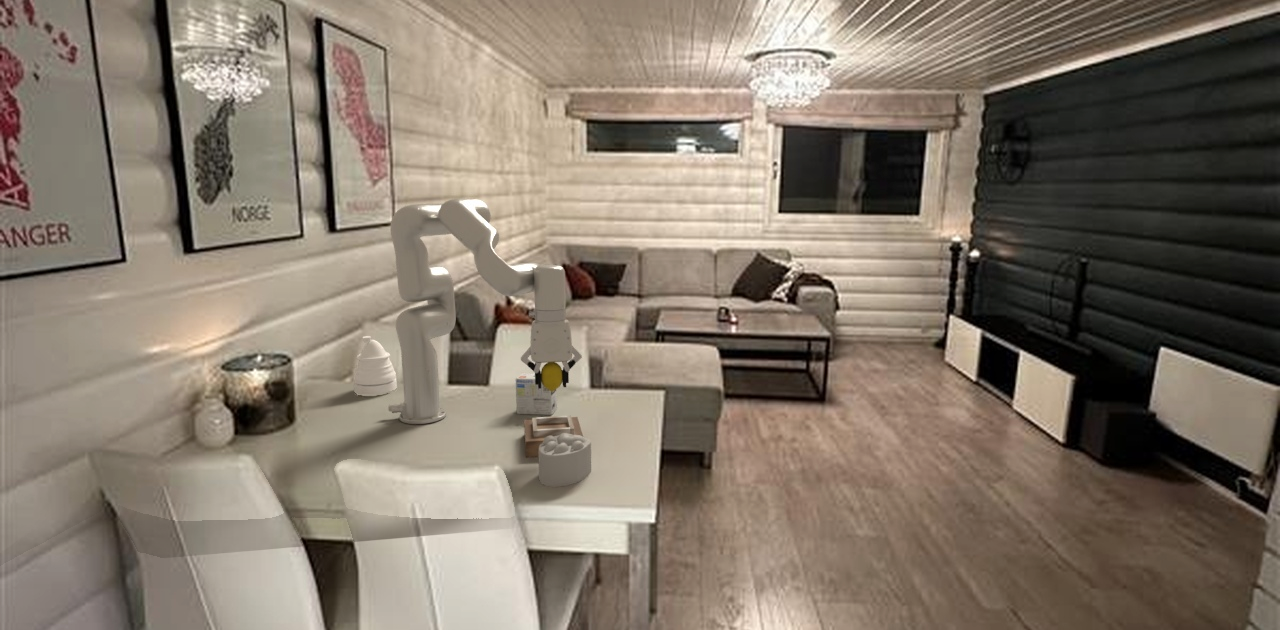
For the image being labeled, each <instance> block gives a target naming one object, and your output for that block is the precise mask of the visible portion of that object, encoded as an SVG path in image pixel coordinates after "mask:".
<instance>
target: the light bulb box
mask: <svg viewBox="0 0 1280 630" xmlns="http://www.w3.org/2000/svg"><path fill="white" fill-rule="evenodd" d="M515 397H516V414H517V415H542V416H543V415H544V416H546V415H547V416H552V415H553V414H554V413H555V411H556V410H557V409H558V403H557V402H558V400H557V399H558V398H557V397H558V396H557V389H555V390H554V391H553V392H551V391H550V390H549V389H547V388H545V387H544V386H543V384H542V382H541V389H538V385H535V372H534V373H526V372H525V373H524V372H521V373H520V374H519V375H518V376H517V377H516V378H515Z"/></svg>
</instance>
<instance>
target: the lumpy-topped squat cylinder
mask: <svg viewBox="0 0 1280 630" xmlns="http://www.w3.org/2000/svg"><path fill="white" fill-rule="evenodd" d="M538 452H539V456H538V480H540V481H539V483H541V484H542V485H543V484H544V485H543V486H546V487H551V486H554V488H555V487H556V486H558V487H564V486H565V485H566V486H570V485H573V483H574V484H576V483H577V484H578V483H579V482H581V481H582V480H584V479H585V478H587V477H588V476H589V475H590V474H591V473H592V440H591V439H590V438H587V437H584V436H583V437H582V436H580V435H572V434H568V433H562V434H561V435H557V436H554V437H553V436H551V435H550V436H547V437H545V438H544V440H543V443H542V444H540V446H539V451H538ZM569 484H570V485H569ZM566 486H565V487H566Z"/></svg>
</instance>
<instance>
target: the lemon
mask: <svg viewBox="0 0 1280 630" xmlns="http://www.w3.org/2000/svg"><path fill="white" fill-rule="evenodd" d="M562 370H563V368H562V366H561V365H560V364H559V363H558V362H547V363H544V365H543V366H542V367H541V370H540V371H541V382H542V384H543V386H544V387H545V388H547V389H549V390H550V391H551V392H553V391H554V390H555V389H556V390H557V389H558V388H560V387H561V385H563V383H562V381H563V373H562Z"/></svg>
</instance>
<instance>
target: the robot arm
mask: <svg viewBox="0 0 1280 630" xmlns="http://www.w3.org/2000/svg"><path fill="white" fill-rule="evenodd" d="M393 214H394V215H393V217H392V219H391V221H390V227H389V228H390V235H391V240H392V245H393V248H394V255H395V264H396V265H395V266H396V268H395V269H396V279H397V288H398V289H397V290H398V294H399V296H400V298H401V299H402V300H403V301H404V302H407V303H412V304H413V303H421V302H427V304H426V305H425V304H423V305H420V306H419V305H418V306H415V307H410V308H407V309H405V310H403V311H401V312H400V314H399V315H398V316H397V318H396V320H395V331H396V335H397V338H398V342H399V347H400V348H399V349H400V355H401V368H402V386H403V399H404V401H403V402H400V404H394V403H393V404H388V409H387V410H388V412H391V413H392V414H397V413H400V414H399V416H398V417H399V421H401V422H402V423H405V424H409V425H424V424H431V423H435V422H439V421H441V420H443V419H444V418H446V415H447V411H446V410H445V408H442V407H441V404H440V403H441V401H440V384H439V381H440V380H439V365H438V360H439V359H438V354H437V351H436V348H435V346H434V345H433V343H432V341H431V339H436V338H439V337H442V336H445V335H447V334H450V333H452V331H453V330H454V328H455V325H456V320H457V319H456V318H457V316H456V314H457V313H456V300H455V289H454V288H455V287H454V282H453V281H454V280H453V278H452V276H451V274H450V272H449V271H448V270H447V268H446V267H444V266H442V265H438V264H431V265H430V262H429V252H428V249H427V246H426V244H425V243H424V241H423V240H422V237H427V236H428V237H430V236H431V237H432V236H443V235H444V236H445V235H452V236H453V237H454V238H455V239H457V240H458V241H459V242H460V244H462V245H463V246H464V247H465V248H466V249H467V250H468V251H470V252H471V254H472V255H473V260H474V261H473V262H474V264H475V267H476V269H477V272H478V273H479V275H480V276H481V277H480V278H482V279H483V281H485V282H486V283H487V284H488V285H489V286H490V287H491V288H492V289H494V290H495V291H496V292H498V293H499V294H500V295H502V296H506V297H515V296H516V297H517V296H519V295H523V294H524V295H525V294H530V293H534V309H533V310H532V311H528V316H529V317H528V318H533V319H534V320H533V321H532V322H531V327H530V346H529V348H528V349H526V351H525V352H523V354H522V355H521V356H520V361H521V362H522V363H524V364H525V365H527V367H528V368H529V369H530V370H532V372H534V373H535V385H538V389H541V371H542V370H541V366H542V363H543V364H546V363H548V362H555V363H560V362H561V363H562V365H563V367H562V373H563V381H562V387H563V388H567V384H569V382H570V380H569V379H570V378H569V376H570V375H569V372H570V370H571V369H572V368H573V367H574V366H575V365H576V363H578V362H579V361H580V360H581V359H582V358H583V356H582V354H581V353H580V352H579V351H578V350H577V349H576V347H574V346H573V341H572V331H571V323H570V321H569V320H568V319H567V314H566V271H565V269H564V267H562V266H561V265H555V264H540V263H536V262H532V261H531V262H523V263H522V262H521V263H515V264H510V265H509V264H508V263H506V261H505V260H504V259H502V257H500V256H499V255H498V254H497V252H495V248H496V247H497V245H498V243H499V241H500V234H499V231H498V230H497V229H496V228H495V227H494V226H492V225H491V223H490V222H491V219H492V217H491V216H492V215H491V210H490V208H489V206H488V205H487V204H486V203H485V202H484V201H482V200H481V199H477V198H454V199H453V198H452V199H449V200H447V201H445V202H444V203H416V204H410V205H405V206H403V207H401V208H399V209H398V210H397V211H395V213H393ZM573 355H574V356H573ZM529 358H531V360H530V359H529Z"/></svg>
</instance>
